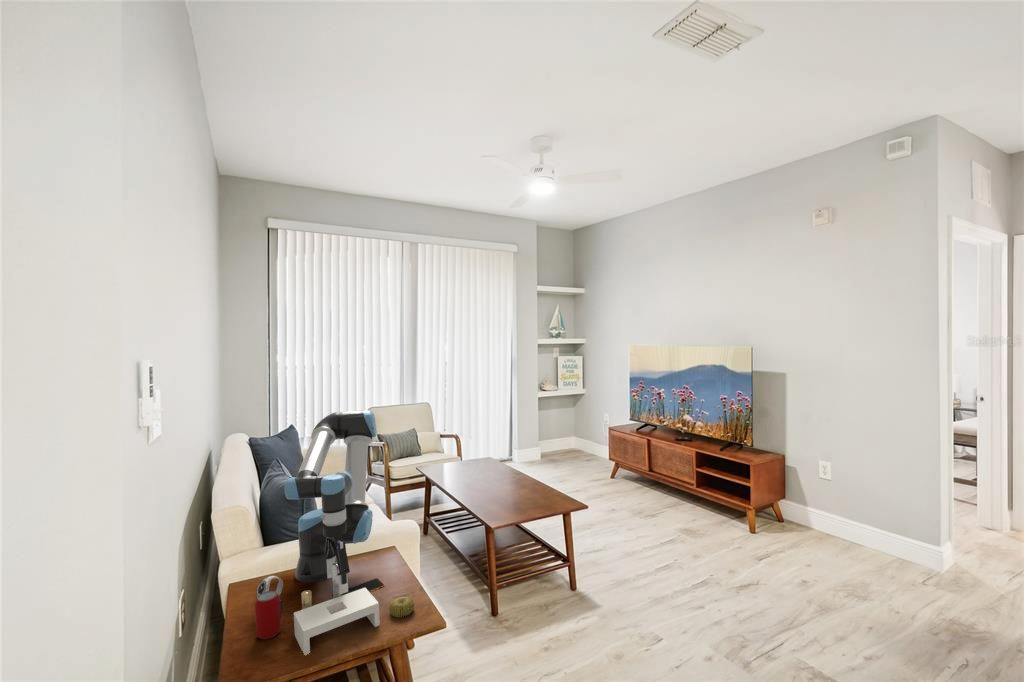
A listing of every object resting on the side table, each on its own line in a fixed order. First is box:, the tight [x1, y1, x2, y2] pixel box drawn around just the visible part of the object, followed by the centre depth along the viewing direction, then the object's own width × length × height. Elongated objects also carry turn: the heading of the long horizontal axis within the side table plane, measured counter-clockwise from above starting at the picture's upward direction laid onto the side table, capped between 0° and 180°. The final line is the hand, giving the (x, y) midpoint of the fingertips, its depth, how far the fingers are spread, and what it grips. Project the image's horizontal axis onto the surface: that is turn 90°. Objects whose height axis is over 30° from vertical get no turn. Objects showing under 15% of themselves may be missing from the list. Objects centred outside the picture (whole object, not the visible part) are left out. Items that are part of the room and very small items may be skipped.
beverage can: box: [254, 590, 282, 640], centre depth 147 cm, size 7×7×12 cm
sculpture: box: [388, 595, 415, 618], centre depth 155 cm, size 8×4×8 cm
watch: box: [255, 575, 284, 612], centre depth 160 cm, size 6×8×11 cm
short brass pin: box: [300, 589, 313, 610], centre depth 157 cm, size 3×3×7 cm
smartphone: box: [331, 577, 385, 597], centre depth 170 cm, size 8×17×1 cm, turn 128°
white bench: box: [293, 588, 381, 656], centre depth 147 cm, size 12×22×7 cm, turn 126°
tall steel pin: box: [332, 563, 343, 599], centre depth 163 cm, size 3×3×13 cm
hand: (337, 584), depth 163 cm, fingers open, 13 cm apart
